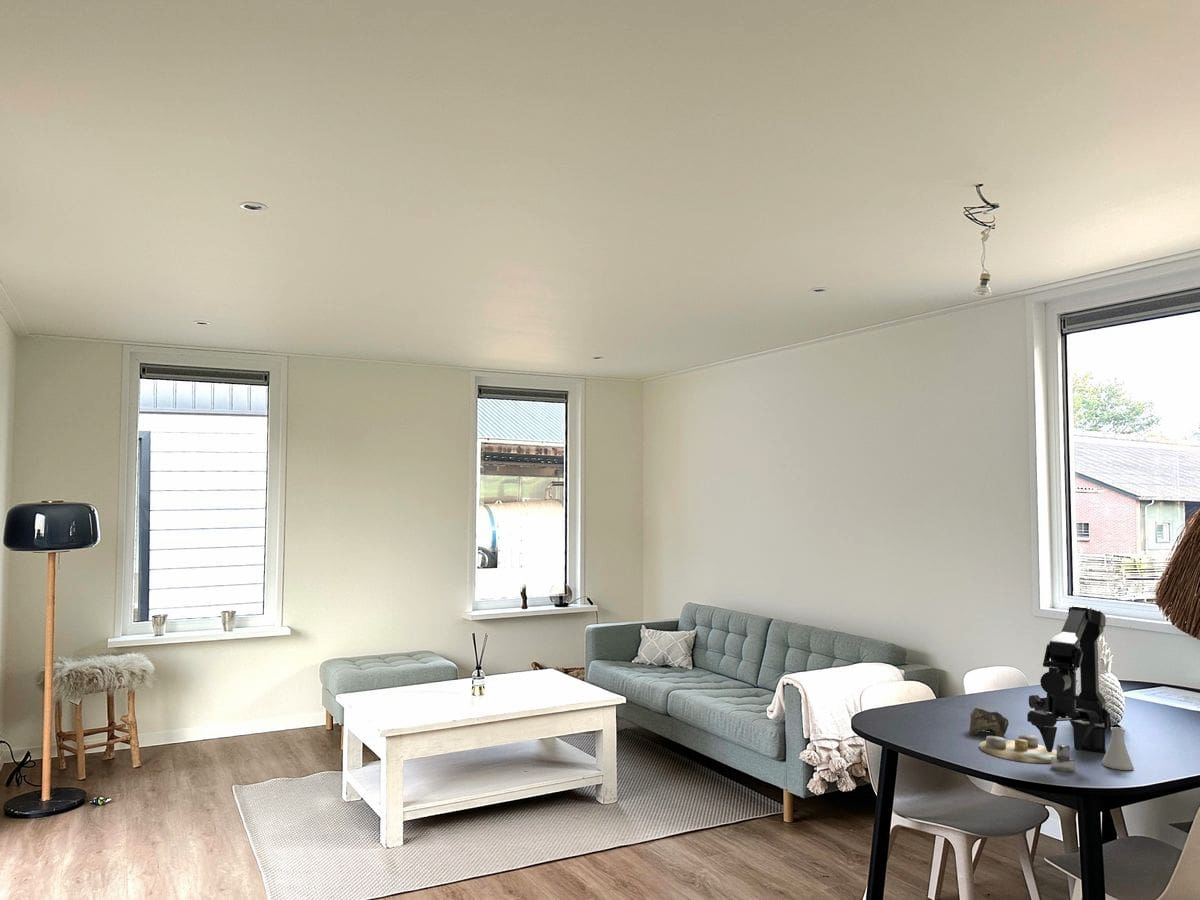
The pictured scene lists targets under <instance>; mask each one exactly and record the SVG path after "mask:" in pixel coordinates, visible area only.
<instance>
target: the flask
mask: <svg viewBox="0 0 1200 900" xmlns="http://www.w3.org/2000/svg"><path fill="white" fill-rule="evenodd" d="M1110 729H1111V730H1110V731H1111V735H1110V736H1111V737H1110V740H1109V741H1110V742H1109V745H1108V747H1107V749H1106V752H1105V754H1104V756H1103V758H1102V761H1101V764H1102V765H1103V766H1104V767H1107V768H1110V769H1113V770H1121V771H1132V770H1135V768H1134V766H1133V763H1132V759H1131V757H1130V754H1129V752H1128V750H1127V747H1126V743H1125V738H1124V735H1125V734H1124V733H1125V732H1126V730H1125V729H1124V728H1122V727H1115V726H1114V727H1113V726H1112V727H1110Z"/></svg>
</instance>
